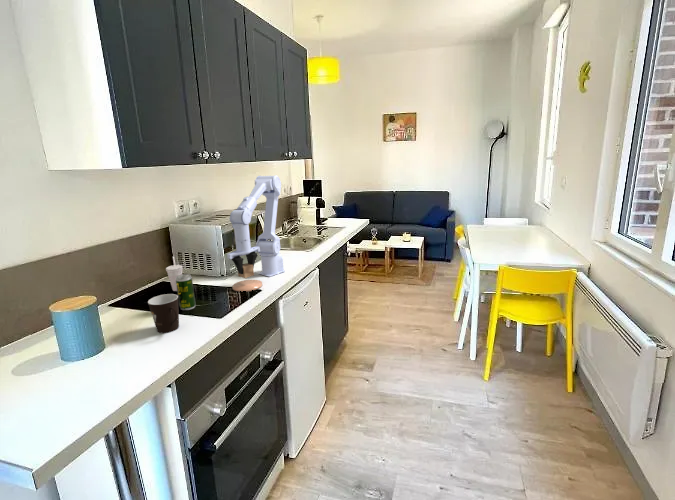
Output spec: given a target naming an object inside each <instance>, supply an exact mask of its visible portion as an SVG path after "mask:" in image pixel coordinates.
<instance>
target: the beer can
mask: <svg viewBox="0 0 675 500" xmlns="http://www.w3.org/2000/svg"><path fill="white" fill-rule="evenodd" d="M176 286H177V291H176V292H177V295H178V306H179V308H180V310H182V311H190V310H193V309H195V308H196V305H197V304H196V297H195V296H196V295H195V291H194V283H193V277H192V274H190V273H182V275H178V276H176Z"/></svg>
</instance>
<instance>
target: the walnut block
mask: <svg viewBox="0 0 675 500" xmlns="http://www.w3.org/2000/svg"><path fill="white" fill-rule="evenodd" d="M254 271H255V270H254V269H253V265H252V264H248V262H245V263H243V274H239V273H238V272H237V275H238V277H240V278H243V279H247V278H250V277H253V276H255V272H254Z"/></svg>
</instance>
